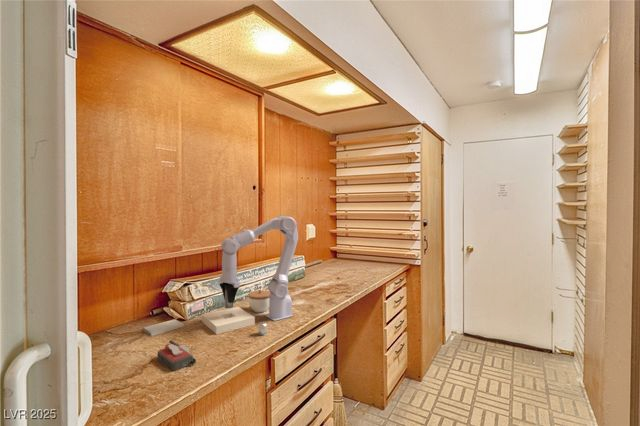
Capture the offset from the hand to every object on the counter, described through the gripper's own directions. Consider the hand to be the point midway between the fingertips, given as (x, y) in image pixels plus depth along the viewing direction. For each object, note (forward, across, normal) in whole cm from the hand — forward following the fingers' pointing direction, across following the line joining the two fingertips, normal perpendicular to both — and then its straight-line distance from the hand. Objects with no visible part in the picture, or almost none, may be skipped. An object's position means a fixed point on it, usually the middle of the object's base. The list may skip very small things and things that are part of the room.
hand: (229, 301), depth 130 cm
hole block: (+9, -1, 0) cm, 10 cm away
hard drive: (+10, -12, -22) cm, 27 cm away
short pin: (+9, +17, +6) cm, 20 cm away
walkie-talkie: (+10, +15, -25) cm, 31 cm away
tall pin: (+2, 0, 0) cm, 2 cm away
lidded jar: (+10, -7, +18) cm, 22 cm away
